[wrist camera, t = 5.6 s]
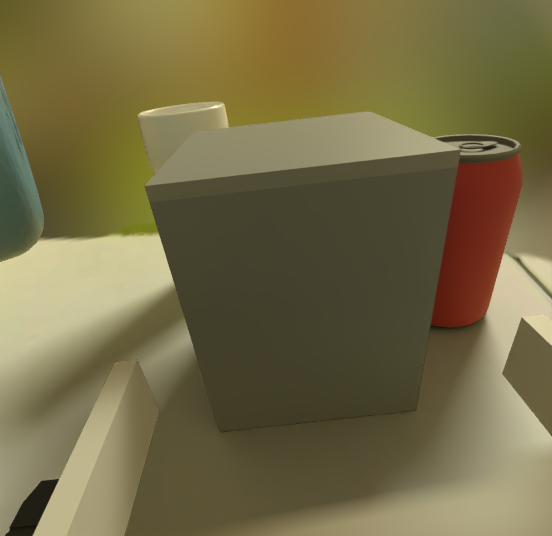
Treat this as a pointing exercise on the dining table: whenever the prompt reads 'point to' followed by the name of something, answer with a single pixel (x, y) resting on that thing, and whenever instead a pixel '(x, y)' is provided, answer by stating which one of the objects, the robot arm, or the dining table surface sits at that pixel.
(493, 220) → the beer can
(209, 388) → the tall grey box
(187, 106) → the drinking glass
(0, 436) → the dining table surface
